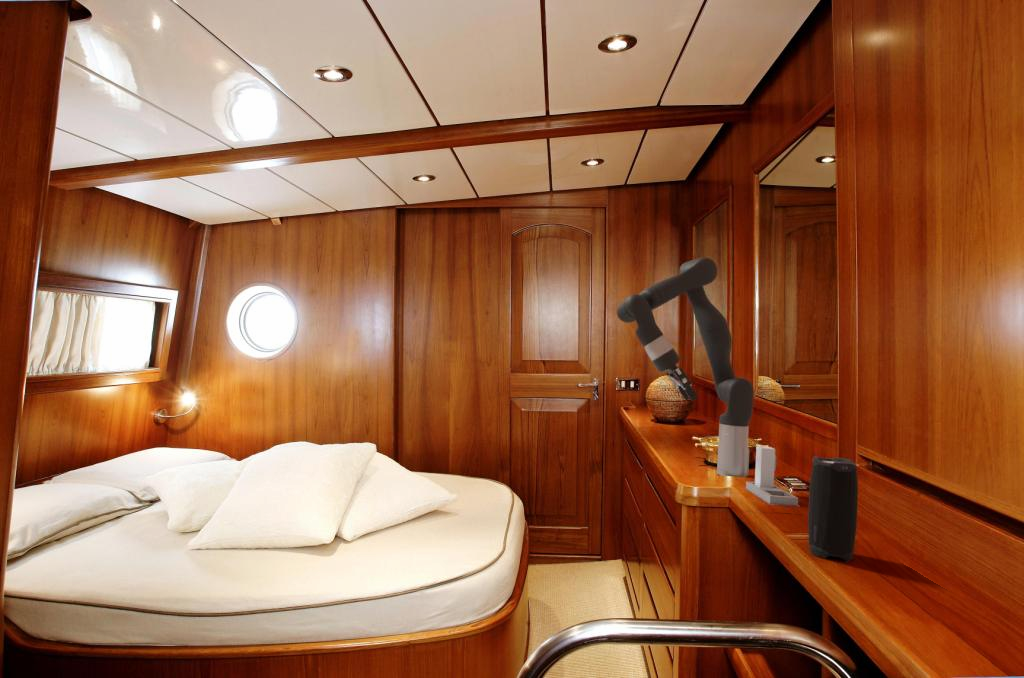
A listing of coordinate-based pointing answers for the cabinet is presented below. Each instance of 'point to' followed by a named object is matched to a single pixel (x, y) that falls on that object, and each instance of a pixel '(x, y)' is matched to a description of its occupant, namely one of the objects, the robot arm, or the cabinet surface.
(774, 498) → the panel
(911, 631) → the cabinet surface
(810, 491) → the portable speaker
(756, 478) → the plug
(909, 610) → the cabinet surface
